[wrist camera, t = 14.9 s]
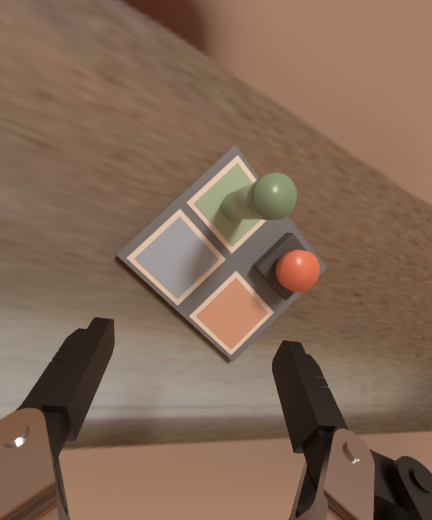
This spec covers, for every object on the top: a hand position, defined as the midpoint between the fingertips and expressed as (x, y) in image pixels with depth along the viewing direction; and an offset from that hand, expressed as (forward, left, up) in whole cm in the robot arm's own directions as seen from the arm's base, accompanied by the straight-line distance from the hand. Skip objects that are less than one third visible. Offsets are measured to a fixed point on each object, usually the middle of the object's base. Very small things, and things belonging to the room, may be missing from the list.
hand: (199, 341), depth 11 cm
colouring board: (+4, +6, -17) cm, 18 cm away
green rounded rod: (-1, +10, -16) cm, 19 cm away
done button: (+9, +10, -15) cm, 20 cm away
